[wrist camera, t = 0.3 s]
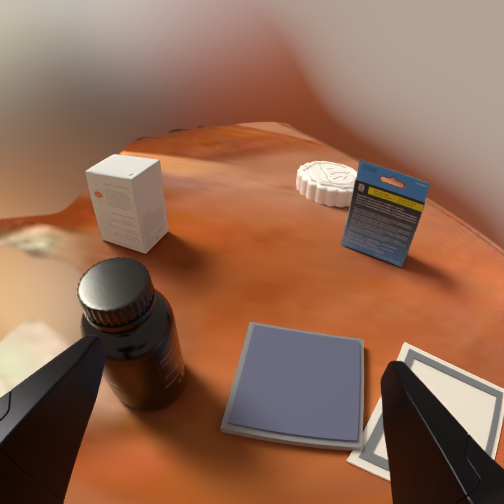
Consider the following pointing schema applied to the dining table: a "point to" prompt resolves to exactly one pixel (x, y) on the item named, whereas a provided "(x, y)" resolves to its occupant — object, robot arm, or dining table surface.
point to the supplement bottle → (133, 333)
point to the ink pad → (298, 389)
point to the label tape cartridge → (383, 213)
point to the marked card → (451, 396)
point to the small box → (129, 201)
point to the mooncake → (326, 183)
